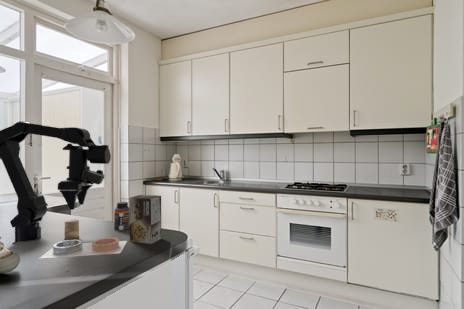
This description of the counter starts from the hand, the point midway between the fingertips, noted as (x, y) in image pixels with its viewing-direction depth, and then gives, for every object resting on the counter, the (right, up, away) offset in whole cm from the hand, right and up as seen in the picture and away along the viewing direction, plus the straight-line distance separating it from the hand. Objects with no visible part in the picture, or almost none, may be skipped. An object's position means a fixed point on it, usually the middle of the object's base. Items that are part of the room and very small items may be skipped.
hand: (77, 206), depth 98 cm
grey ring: (+4, -11, -13) cm, 17 cm away
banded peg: (-2, -12, -1) cm, 12 cm away
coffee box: (+25, -12, -3) cm, 28 cm away
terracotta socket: (+15, -11, -11) cm, 21 cm away
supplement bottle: (+11, -12, +12) cm, 20 cm away
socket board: (+10, -12, -12) cm, 19 cm away
